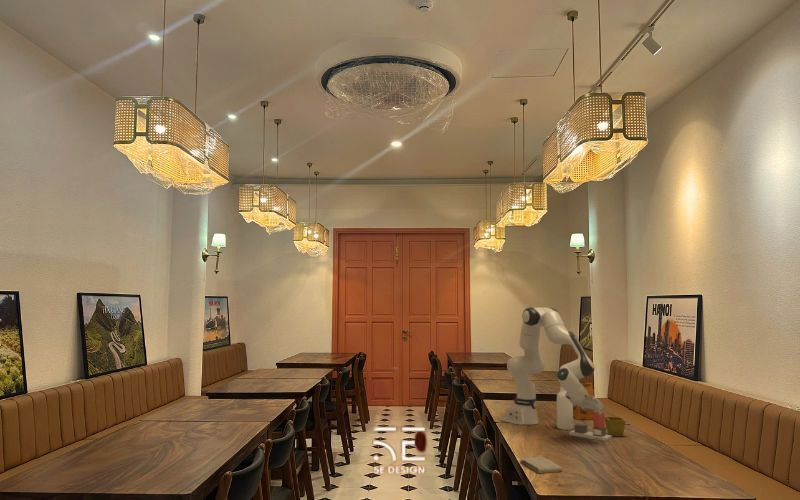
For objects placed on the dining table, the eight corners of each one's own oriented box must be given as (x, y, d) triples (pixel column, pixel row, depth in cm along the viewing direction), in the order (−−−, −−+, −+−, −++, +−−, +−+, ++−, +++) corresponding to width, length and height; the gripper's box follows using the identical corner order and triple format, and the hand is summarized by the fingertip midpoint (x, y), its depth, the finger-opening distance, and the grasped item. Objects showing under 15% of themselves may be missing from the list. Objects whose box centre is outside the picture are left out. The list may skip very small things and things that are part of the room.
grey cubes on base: (569, 434, 301) (568, 424, 302) (574, 432, 308) (574, 422, 308) (606, 441, 289) (606, 430, 289) (611, 438, 295) (611, 427, 295)
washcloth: (541, 461, 252) (541, 454, 252) (564, 473, 235) (563, 465, 235) (518, 463, 249) (518, 456, 249) (538, 475, 231) (538, 467, 232)
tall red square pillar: (599, 428, 293) (598, 413, 294) (593, 427, 296) (593, 411, 297) (604, 427, 295) (604, 412, 295) (599, 426, 298) (598, 411, 299)
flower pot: (621, 433, 306) (620, 416, 307) (626, 437, 297) (625, 420, 298) (604, 433, 307) (604, 416, 308) (609, 436, 298) (608, 419, 299)
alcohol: (571, 427, 321) (570, 374, 324) (574, 430, 312) (573, 376, 315) (555, 426, 322) (555, 373, 324) (558, 430, 313) (557, 375, 316)
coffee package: (571, 416, 351) (570, 381, 353) (590, 416, 351) (590, 381, 353) (576, 420, 341) (575, 383, 343) (596, 420, 341) (595, 383, 343)
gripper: (597, 392, 283) (611, 410, 287) (568, 386, 302) (582, 403, 305) (590, 402, 281) (605, 420, 284) (562, 395, 299) (576, 412, 303)
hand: (593, 411), depth 295 cm, fingers open, 8 cm apart
